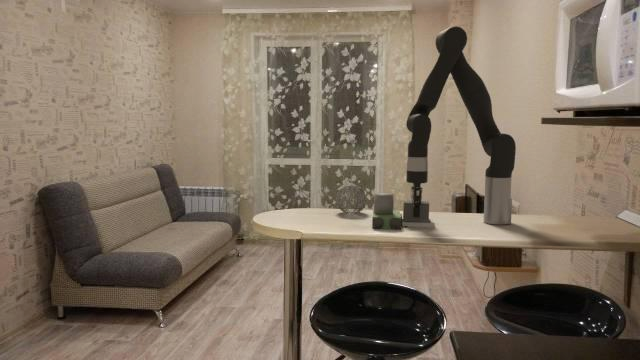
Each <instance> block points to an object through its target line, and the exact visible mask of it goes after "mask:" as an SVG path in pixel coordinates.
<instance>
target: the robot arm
mask: <svg viewBox="0 0 640 360" xmlns="http://www.w3.org/2000/svg"><path fill="white" fill-rule="evenodd" d="M467 43H468V34H467V32H466V31H465V29H464V28H462V27H461V26H456V25H455V26H450V27H448V28H446V29H443V30H442V31H440V32H439V33H437V36H436V37H435V48H436V51H437V52H438V54H439V55H438V57H437V60H436V62H435V64H434V66H433V67H432V70H431V71H430V73H429V75H427V78H426V79H425V81H424V83H423V85H422V87H421V90H420V91H419V94H418V98H417V101H416V102H415V104H414V105H413V107H412V109H411V110H410V112H409V114H408V117H407V119H406V123H405V124H406V129H407V130H408V131H409V132H410V133H411V140H410V141H409V142H408V144H407V158H406V159H407V160H406V179H405V180H406V182H407V183H408V184H412V186H411V187H410V192H411V194H410V197H411V201H413V207H414V210H413V216H414V217H417V218H419V217H420V206H421V201H422V200H423V187H422V186H421V184H426V183H428V179H429V178H428V175H429V171H428V170H429V161H428V156H429V155H428V153H429V152H428V148H429V147H428V146H429V141H430V137H431V133H432V121H431V119H430V117H429V116H430V113H431V112H432V111H434V110H435V109H436V107H437V106H438V103H439V100H440V98H441V95H442V93H443V91H444V87H445V85H446V83H447V80H448V78H449V76H450V75H451V77H452V80H453V82H454V84H455V86H456V89H457V91H458V93H459V95H460V98H461V99H462V101H463V104H464V106H465V109H466V110H467V112H468V114H469V116H470V118H471V120H472V122H473V124H474V126H475V128H476V131H477V133H478V136H479V140H480V142H481V145H482V148H483V151H484V153H485V154H486V155H488V157H490V161H489V166H488V167H487V168H486V169H485V175H484V176H485V177H484V178H485V179H484V205H483V223H484V224H489V225H496V226H497V225H501V226H502V225H512V213H513V209H512V208H513V198H512V196H511V195H512V177H513V175H512V174H513V171H514V169H515V163H516V162H515V161H516V151H517V150H516V149H517V147H516V141H515V138H514V137H513V136H511V135H510V134H508V133H501V131H500V128H499V127H498V126H497V124H496V122H495V118H494V117H493V116H494V115H493V105H492V99H491V95H490V93H489V91H488V88H487V87H486V84H485V82H484V81H483V79H482V78H481V76H480V75H479V74H478V73H477V72H476V71H475V70H474V68H472V67H471V65H470V64H469V63H468V61H467V59H466V57H465V54H464V53H463V51H464V49H465V48H466V45H467ZM415 201H419V203H415Z"/></svg>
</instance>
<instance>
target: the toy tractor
mask: <svg viewBox="0 0 640 360" xmlns="http://www.w3.org/2000/svg"><path fill="white" fill-rule="evenodd" d="M394 195H395V194H394V193H387V192H378V193H374V196H373V197H374V199H373V200H374V201H373V202H374V205H373V209H372V220H371V221H372V222H371V223H372V224H371V225H372V226H371V228H372V229H377V230H379V229H387V228H392V230H398V228H401V229H402V226H408V227H407V228H430V227H431V228H434V229H435V226H436V225H435V221H434V219H432V218H429V220H408V219H403V213H400V212H401V211H400V209H394V204H395V203H394V199H395V198H394ZM431 228H430V229H431Z"/></svg>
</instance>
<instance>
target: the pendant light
mask: <svg viewBox="0 0 640 360" xmlns="http://www.w3.org/2000/svg"><path fill="white" fill-rule="evenodd" d="M357 142H358V139H347V141H346V143H349V144H350V145H351V147H353V145H354V143H357ZM350 150H351V151H350V152H351V153H353V148H351V149H350ZM350 157H351V162H350V167H351V168H353V167H354V162H353V159H354V158H353V154H351V156H350ZM350 171H351V172H350V174H353V171H354V170H353V169H351V170H350ZM352 176H353V175H350V183H348V184H347V185H345V186H342V188H339V190H338V192H337V195H336V198H335V199H336V201H335V202H336V205H337V208H339V210H340V211H341V212H343V213H344V214H348V215H349V212H350V213H351V214H354V215H356V214H359V213H361V212H362V211H363V210H364V208H366V205H367V195H366V191H365V190H364V189H363V188H362V187H361V186H359V185H356V184H355V183H353V177H352Z"/></svg>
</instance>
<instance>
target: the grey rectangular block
mask: <svg viewBox="0 0 640 360" xmlns="http://www.w3.org/2000/svg"><path fill="white" fill-rule="evenodd" d="M402 202H403V206H402V218H403V219H408V220H429V219H430V202H429V201H422V200H421V206H420V217H419V218H417V217H414V216H413V210H414V207H413V201H412V200H403V201H402ZM415 203H419V201H415Z"/></svg>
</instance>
